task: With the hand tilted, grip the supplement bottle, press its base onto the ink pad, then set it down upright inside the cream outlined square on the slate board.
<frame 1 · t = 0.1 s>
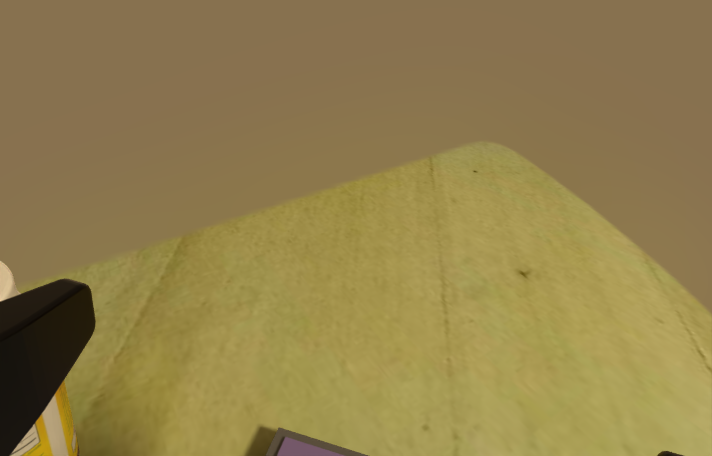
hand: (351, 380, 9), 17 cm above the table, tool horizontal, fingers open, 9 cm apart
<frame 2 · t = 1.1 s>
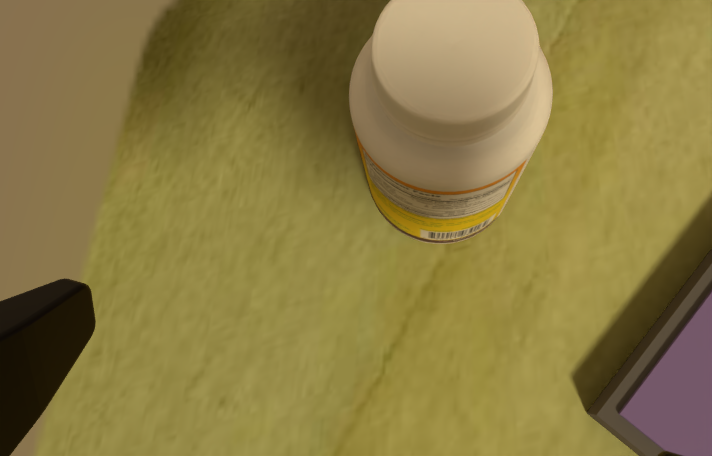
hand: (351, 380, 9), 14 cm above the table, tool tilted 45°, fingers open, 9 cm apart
supplement bottle: (438, 181, 24), on the table
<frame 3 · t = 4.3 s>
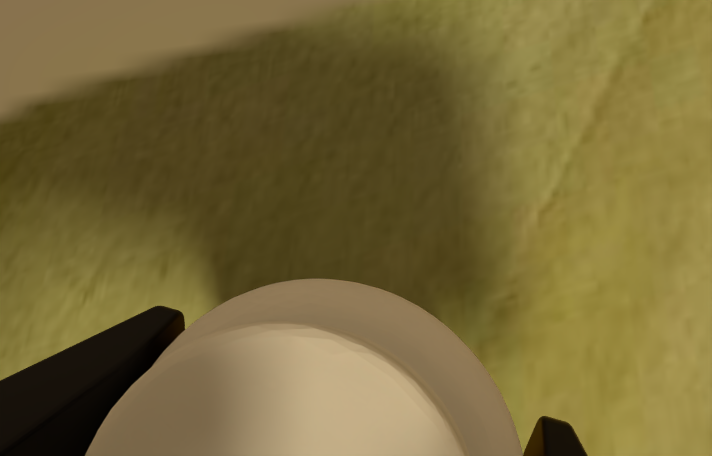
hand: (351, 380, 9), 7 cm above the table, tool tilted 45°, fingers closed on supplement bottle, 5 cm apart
supplement bottle: (363, 430, 16), on the table, touching gripper
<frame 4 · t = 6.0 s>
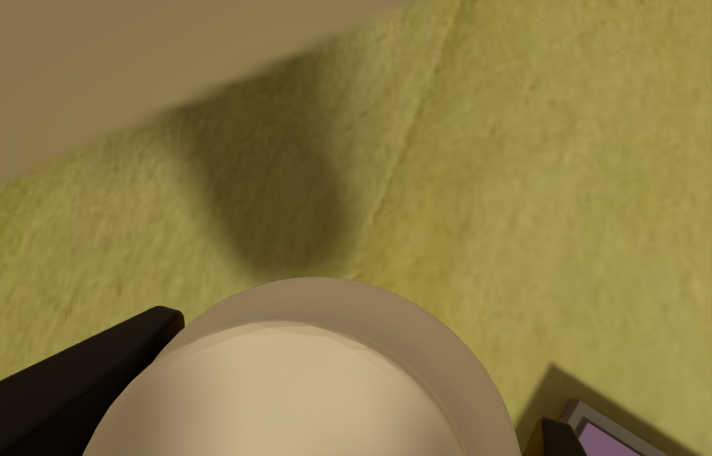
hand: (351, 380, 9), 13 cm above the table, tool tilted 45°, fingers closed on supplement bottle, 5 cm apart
supplement bottle: (362, 429, 16), point 6 cm above the table, touching gripper
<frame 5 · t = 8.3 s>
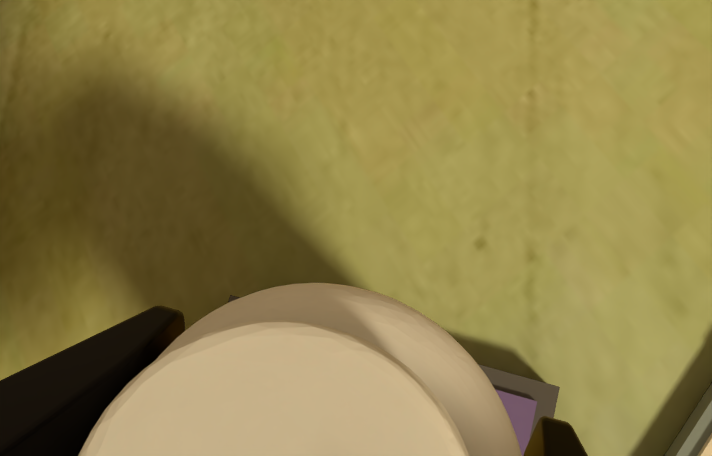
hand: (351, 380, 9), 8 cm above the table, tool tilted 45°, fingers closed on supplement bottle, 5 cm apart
supplement bottle: (359, 444, 15), point 1 cm above the table, touching gripper, ink pad
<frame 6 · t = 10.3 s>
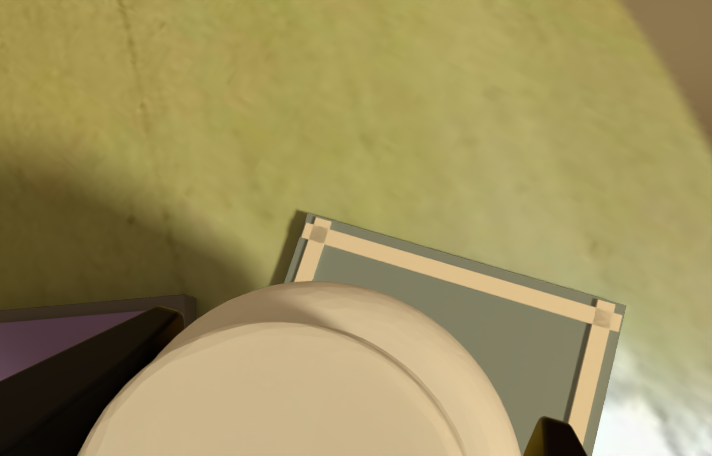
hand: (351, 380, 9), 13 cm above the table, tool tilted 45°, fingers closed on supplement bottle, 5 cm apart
supplement bottle: (360, 439, 15), point 7 cm above the table, touching gripper
ink pad: (81, 426, 23), on the table
marked board: (413, 417, 22), on the table
when the fingers open (8 cm above the table, at t = 12.1 s): supplement bottle stays where it is, resting on marked board.
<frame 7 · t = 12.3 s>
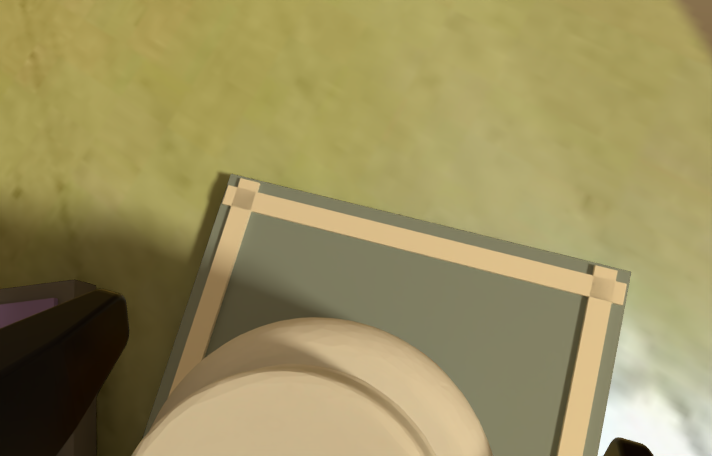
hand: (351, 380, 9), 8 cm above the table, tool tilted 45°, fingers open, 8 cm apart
supplement bottle: (363, 442, 17), resting on marked board
marked board: (368, 424, 17), on the table
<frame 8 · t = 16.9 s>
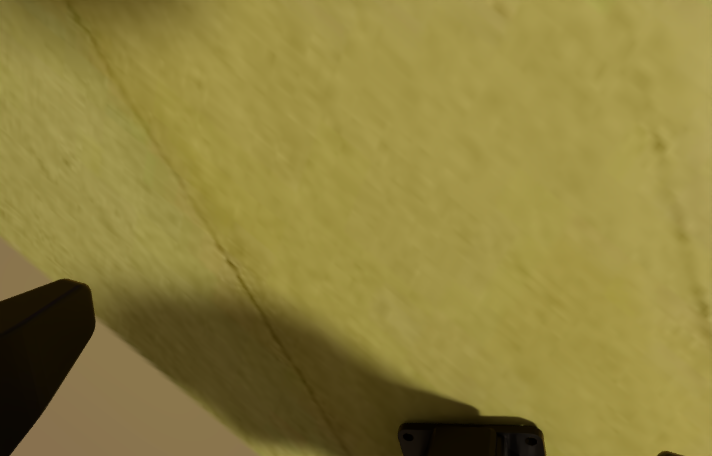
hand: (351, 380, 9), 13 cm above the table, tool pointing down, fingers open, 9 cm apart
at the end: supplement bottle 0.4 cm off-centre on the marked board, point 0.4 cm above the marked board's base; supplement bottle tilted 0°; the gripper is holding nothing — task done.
